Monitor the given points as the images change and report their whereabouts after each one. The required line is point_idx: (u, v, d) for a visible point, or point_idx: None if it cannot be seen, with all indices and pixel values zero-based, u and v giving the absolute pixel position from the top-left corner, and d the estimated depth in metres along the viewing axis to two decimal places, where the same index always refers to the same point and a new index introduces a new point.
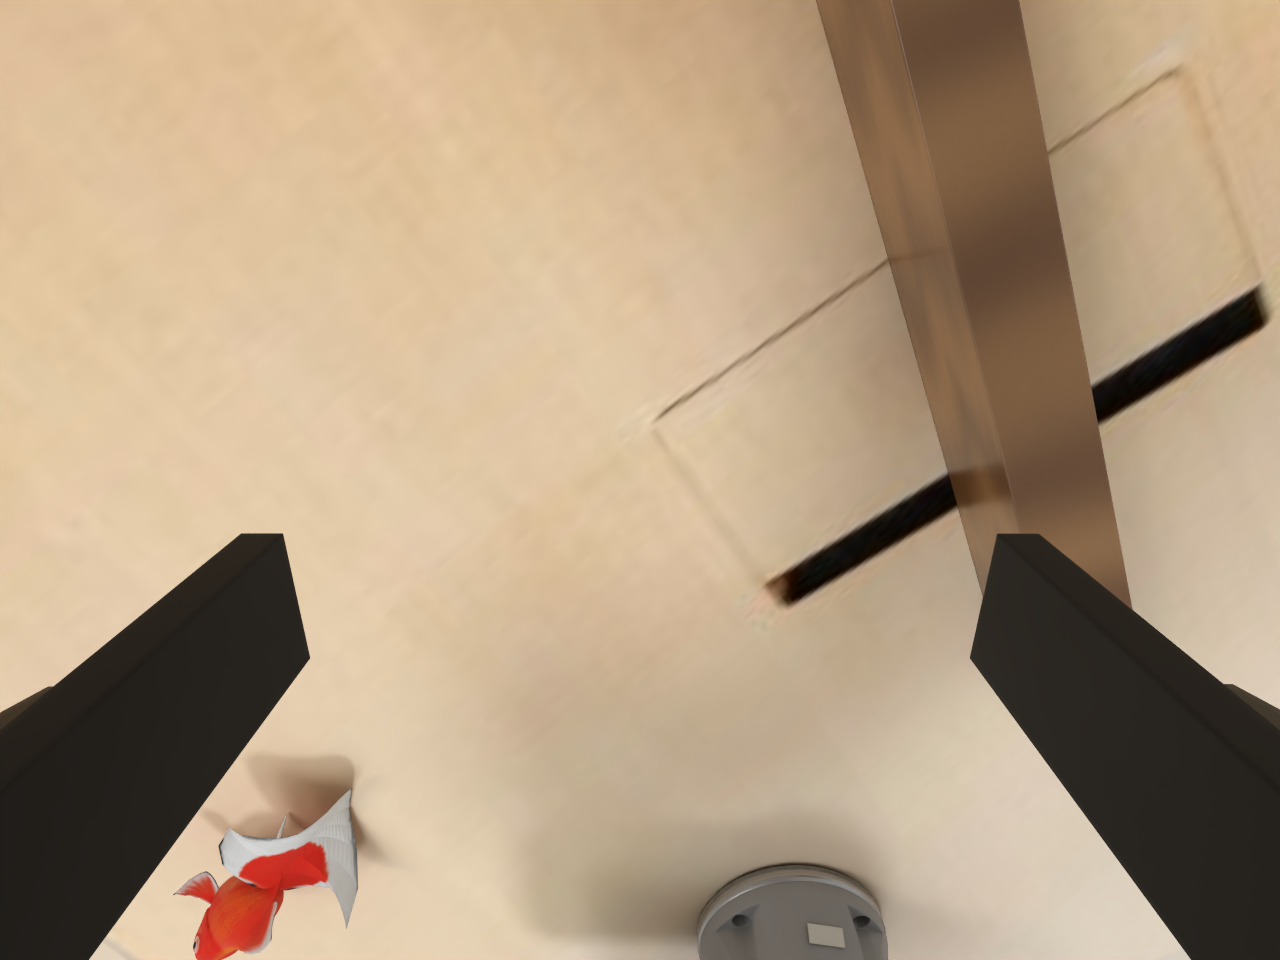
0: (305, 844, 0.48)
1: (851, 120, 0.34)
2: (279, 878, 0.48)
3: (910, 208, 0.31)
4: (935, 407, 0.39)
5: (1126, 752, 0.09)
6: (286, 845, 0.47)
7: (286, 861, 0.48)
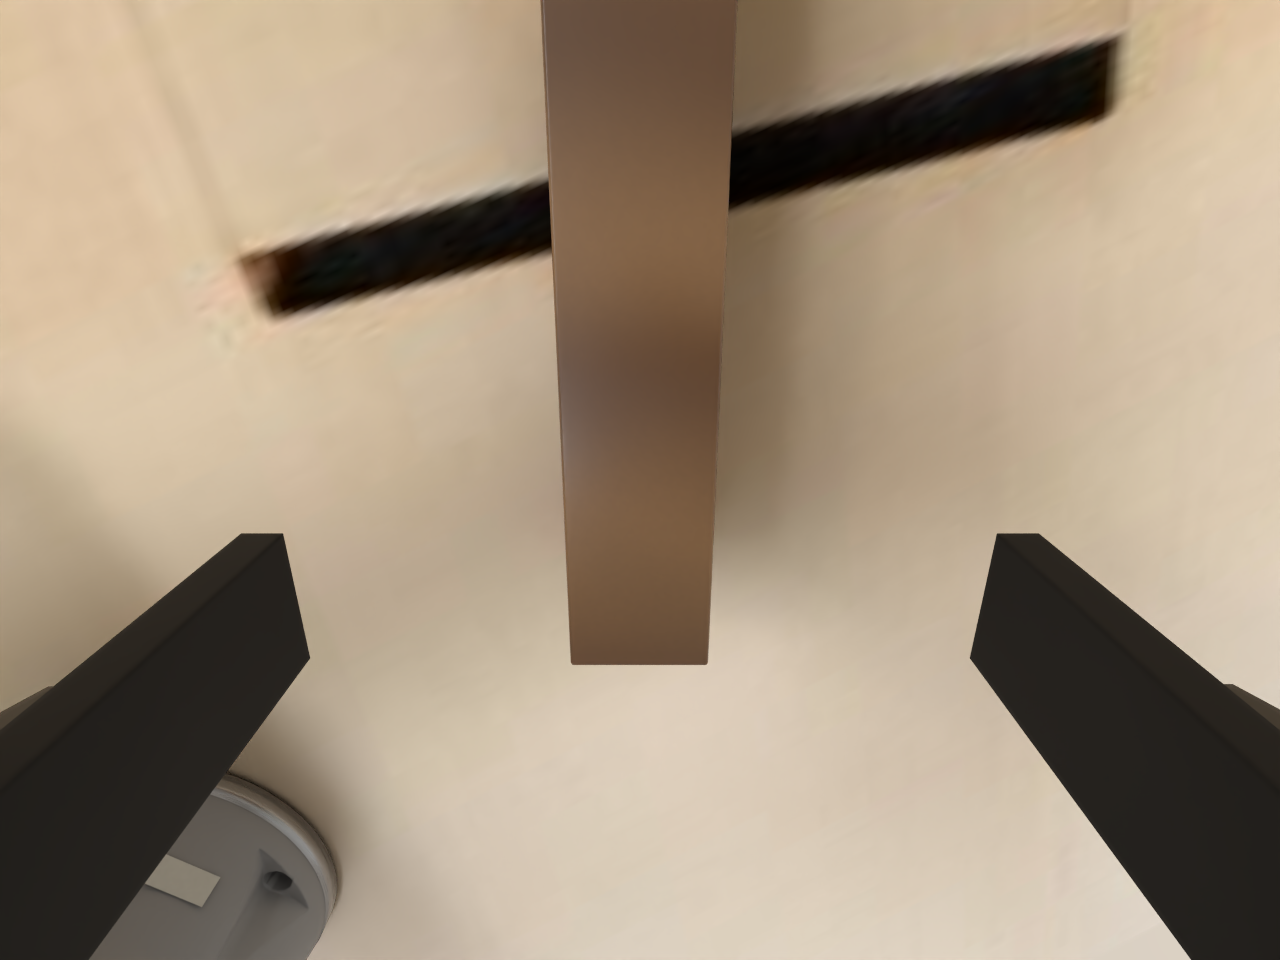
0: None
1: None
2: None
3: None
4: None
5: (1127, 752, 0.09)
6: None
7: None
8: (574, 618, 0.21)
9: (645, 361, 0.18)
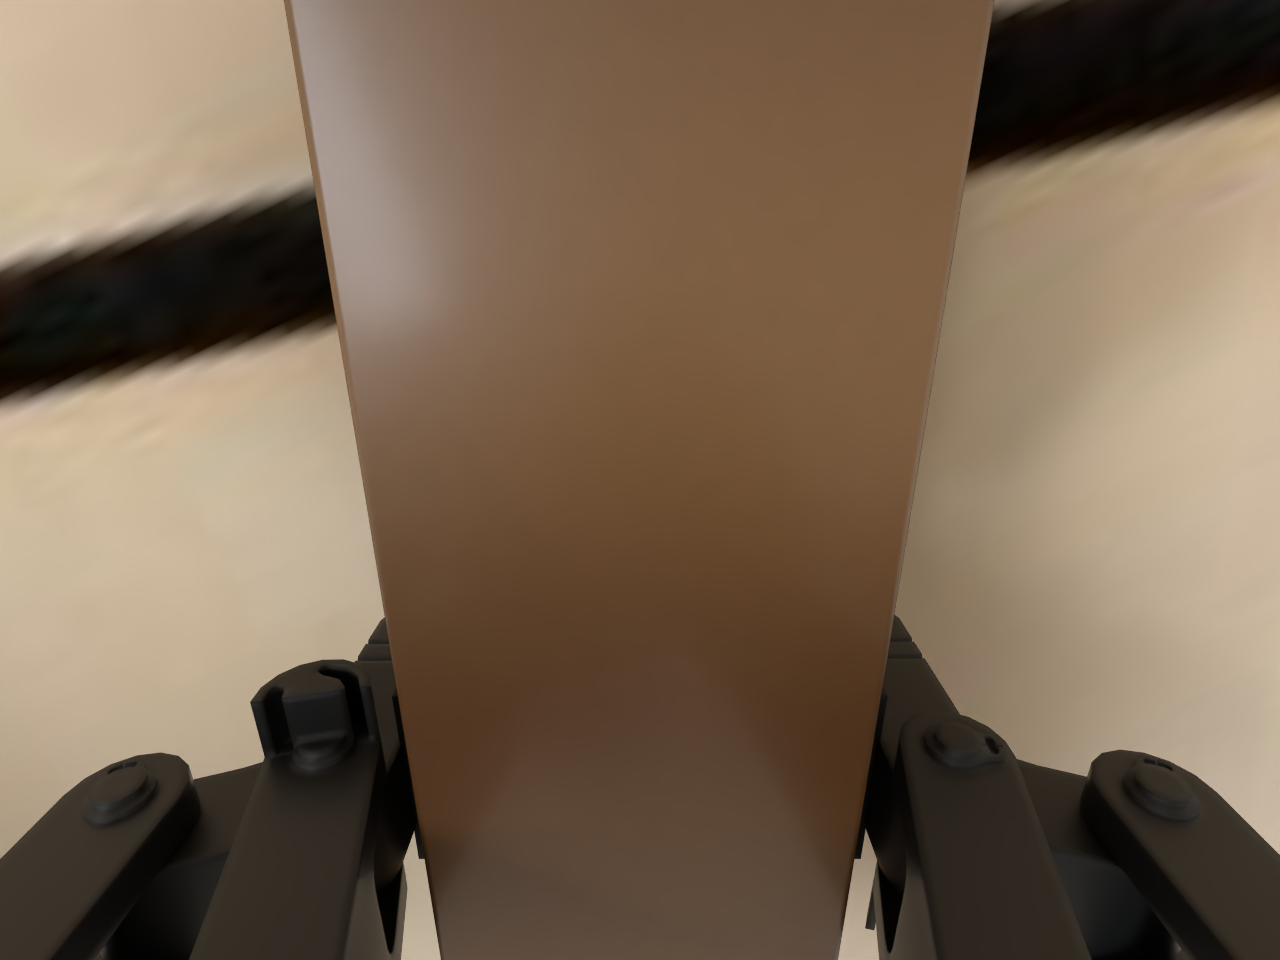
0: None
1: None
2: None
3: None
4: None
5: None
6: None
7: None
8: None
9: (659, 670, 0.06)
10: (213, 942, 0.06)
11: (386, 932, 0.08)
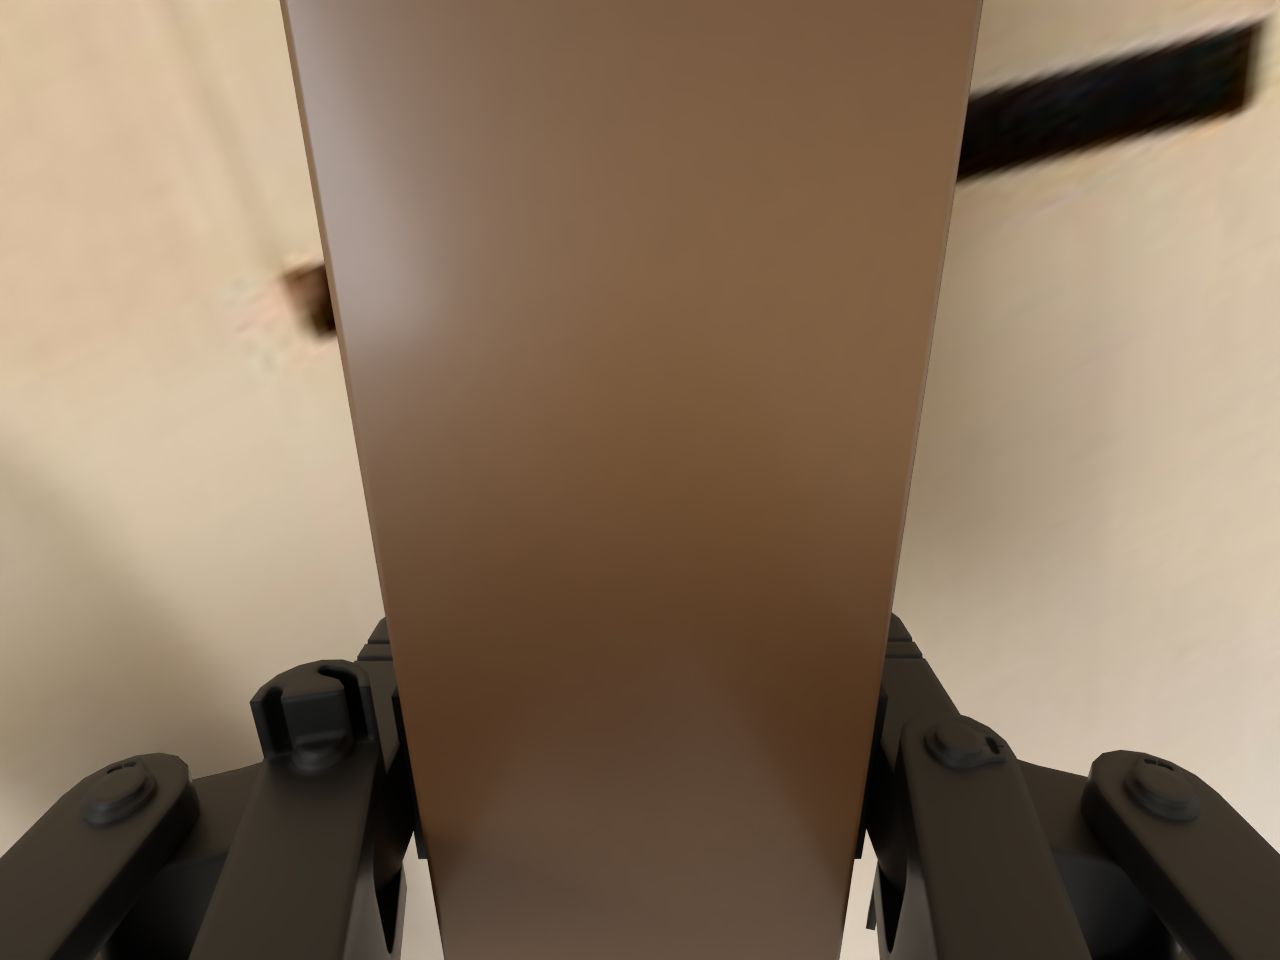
0: None
1: None
2: None
3: None
4: None
5: None
6: None
7: None
8: None
9: (657, 664, 0.06)
10: (212, 942, 0.06)
11: (385, 932, 0.08)
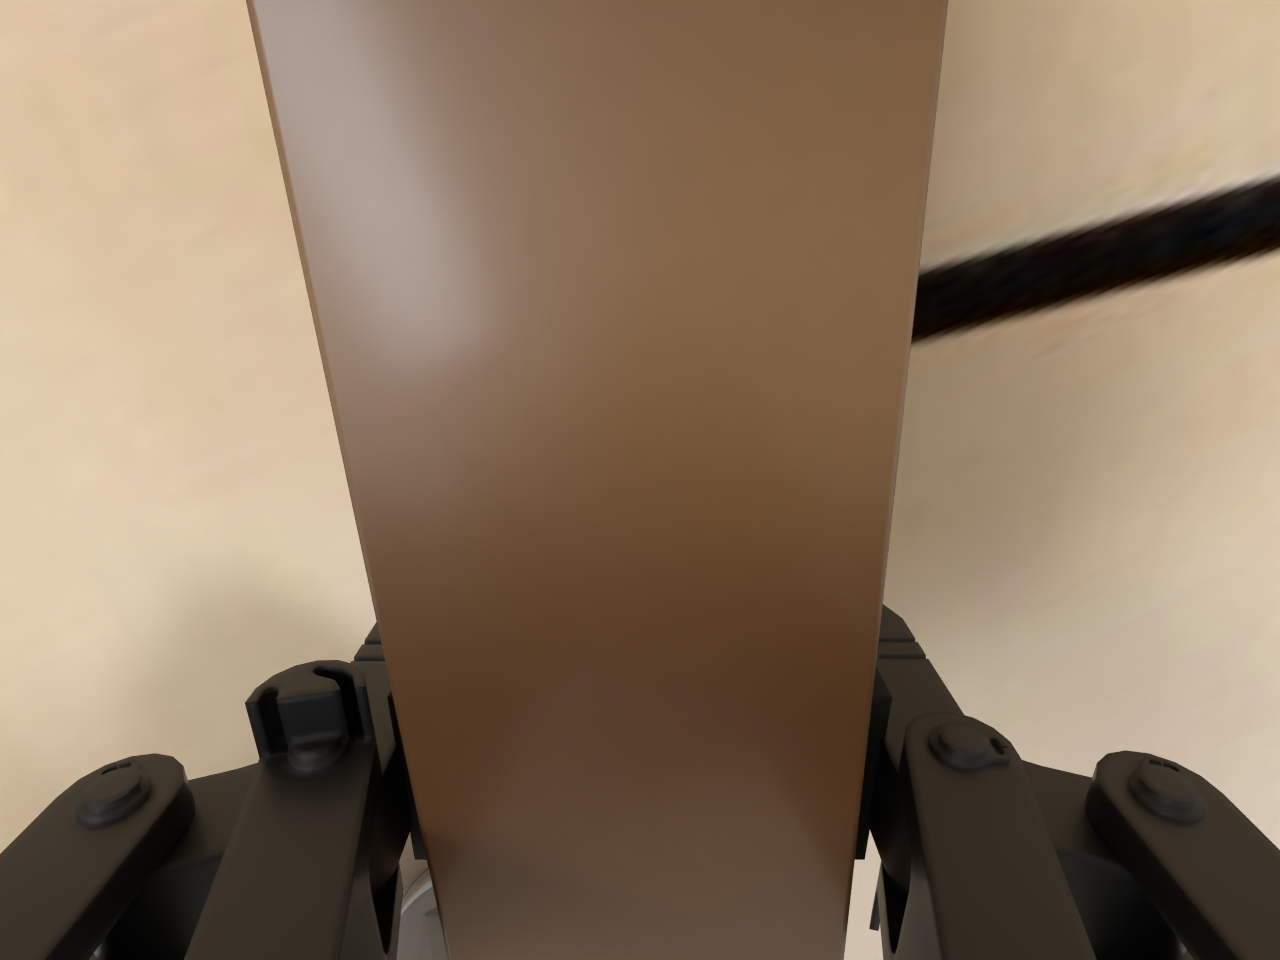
0: None
1: None
2: None
3: None
4: None
5: None
6: None
7: None
8: None
9: (650, 654, 0.06)
10: (207, 943, 0.06)
11: (382, 933, 0.08)
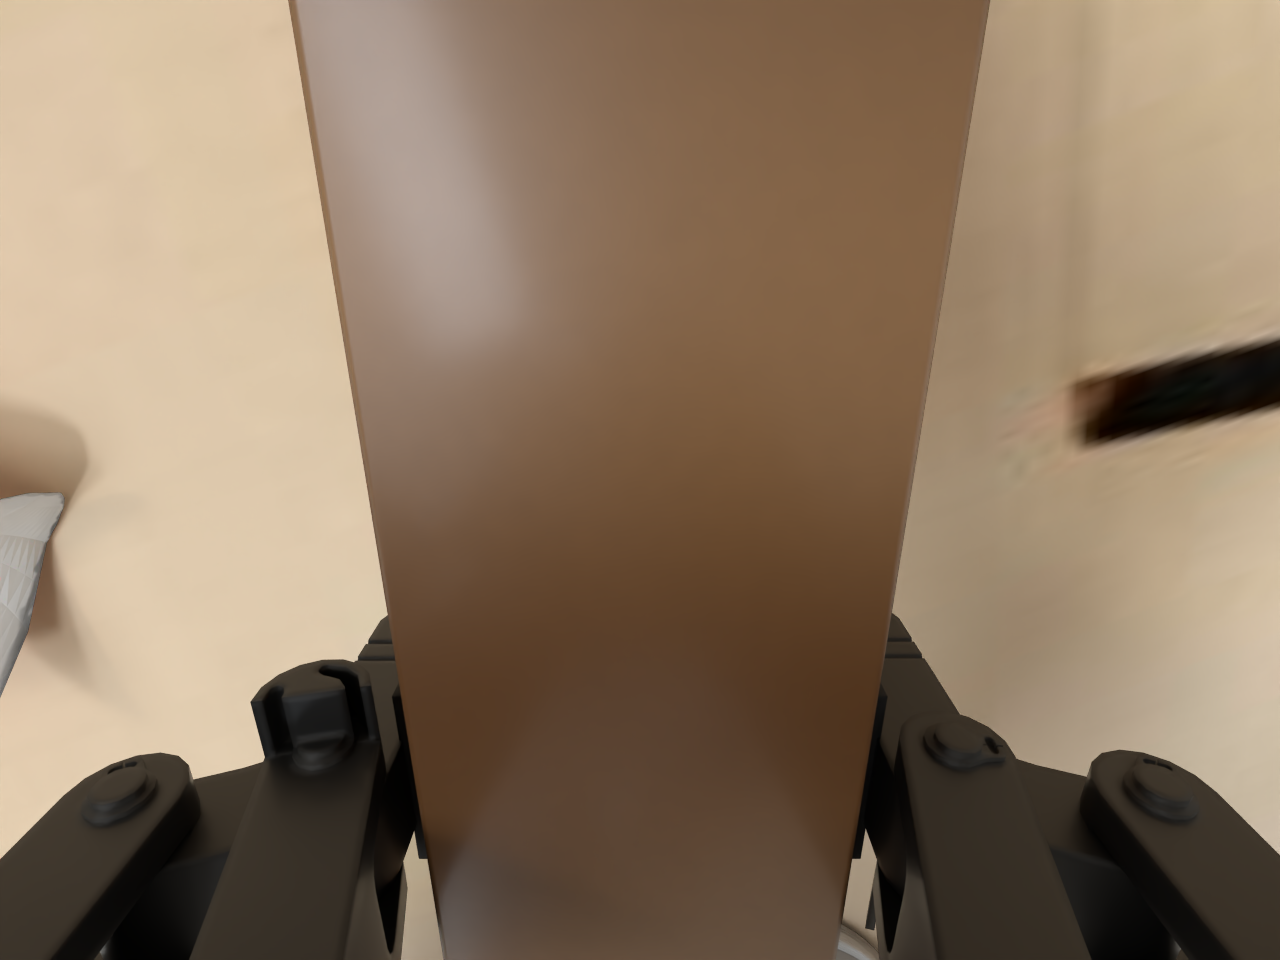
0: None
1: None
2: None
3: None
4: None
5: None
6: None
7: None
8: None
9: (659, 652, 0.06)
10: (213, 942, 0.06)
11: (386, 932, 0.08)
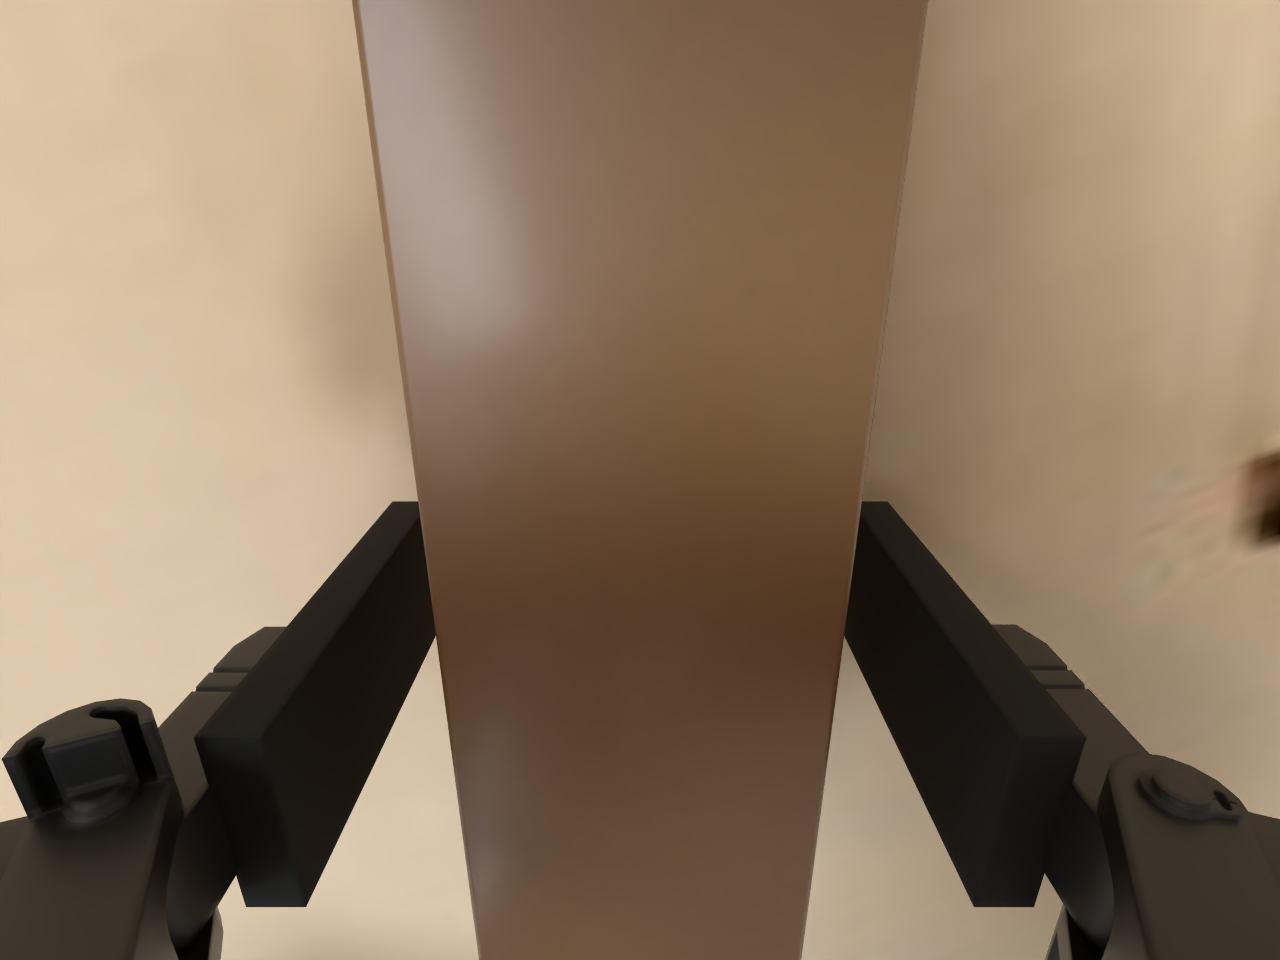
0: None
1: None
2: None
3: None
4: None
5: (916, 682, 0.10)
6: None
7: None
8: None
9: (656, 597, 0.07)
10: None
11: None
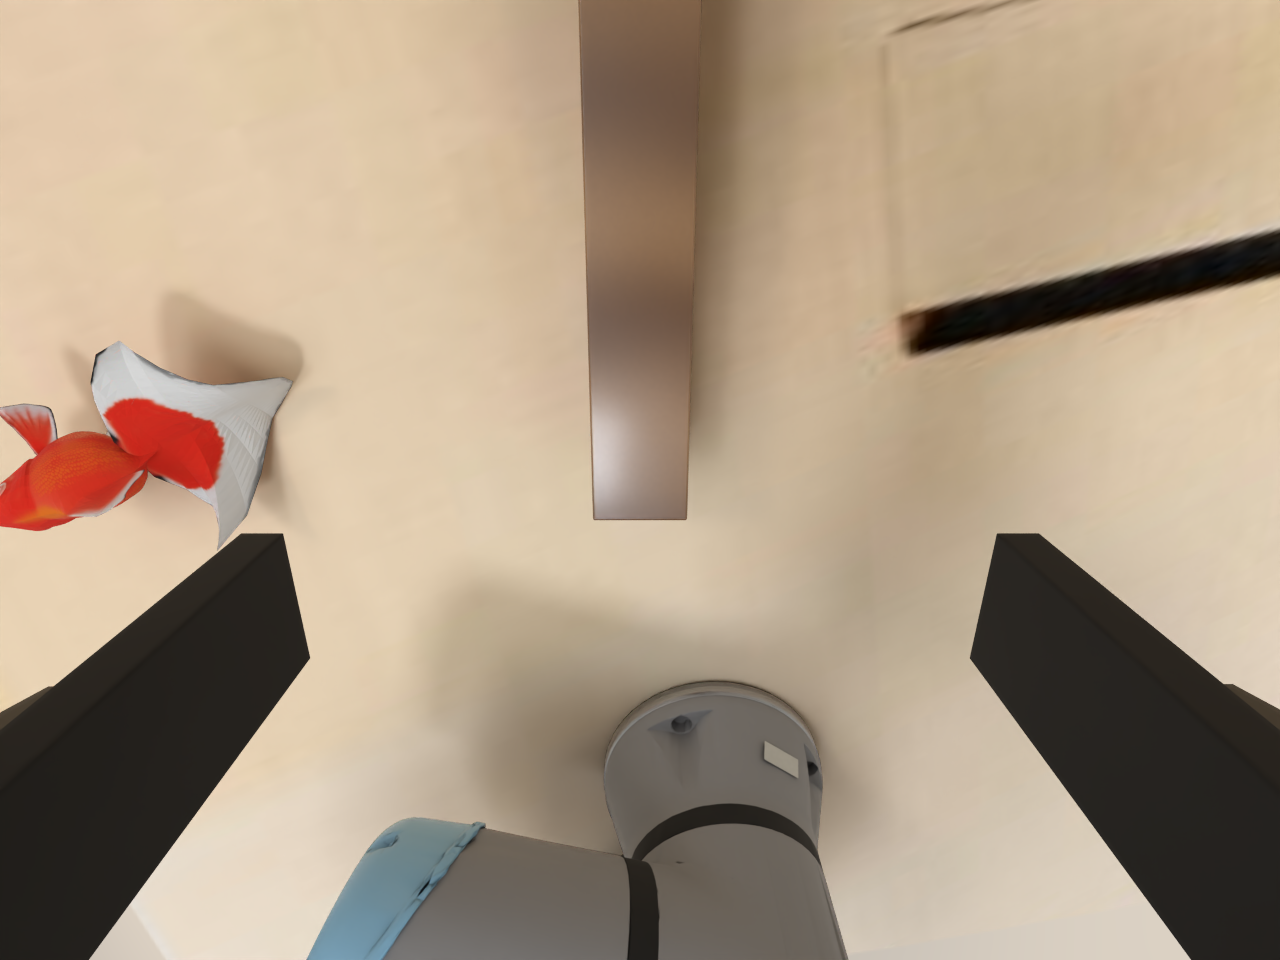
0: (208, 421, 0.36)
1: None
2: (153, 451, 0.35)
3: None
4: None
5: (1126, 752, 0.09)
6: (187, 401, 0.34)
7: (173, 429, 0.35)
8: (596, 485, 0.32)
9: (644, 306, 0.28)
10: None
11: None
